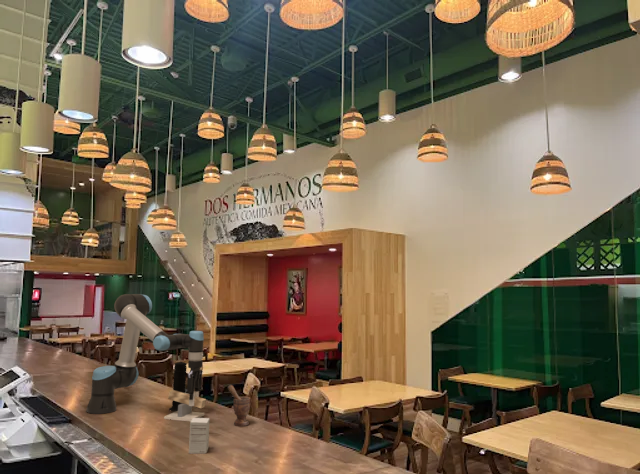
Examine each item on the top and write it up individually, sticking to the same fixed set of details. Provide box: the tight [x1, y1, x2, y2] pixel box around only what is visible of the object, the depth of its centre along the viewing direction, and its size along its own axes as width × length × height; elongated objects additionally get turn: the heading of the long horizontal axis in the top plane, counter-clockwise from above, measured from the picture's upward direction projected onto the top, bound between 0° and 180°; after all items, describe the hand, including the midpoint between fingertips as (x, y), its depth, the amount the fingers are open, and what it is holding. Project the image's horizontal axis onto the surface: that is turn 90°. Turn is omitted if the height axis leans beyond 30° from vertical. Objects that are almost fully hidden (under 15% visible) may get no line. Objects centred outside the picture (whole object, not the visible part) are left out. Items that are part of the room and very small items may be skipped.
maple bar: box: [167, 389, 207, 409], centre depth 265 cm, size 20×4×4 cm, turn 76°
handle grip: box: [168, 361, 188, 412], centre depth 283 cm, size 10×26×10 cm
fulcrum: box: [163, 403, 205, 422], centre depth 264 cm, size 16×14×7 cm
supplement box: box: [188, 417, 210, 455], centre depth 209 cm, size 7×7×13 cm
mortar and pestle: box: [227, 384, 252, 427], centre depth 252 cm, size 12×9×20 cm
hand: (193, 404), depth 264 cm, fingers closed on maple bar, 4 cm apart
